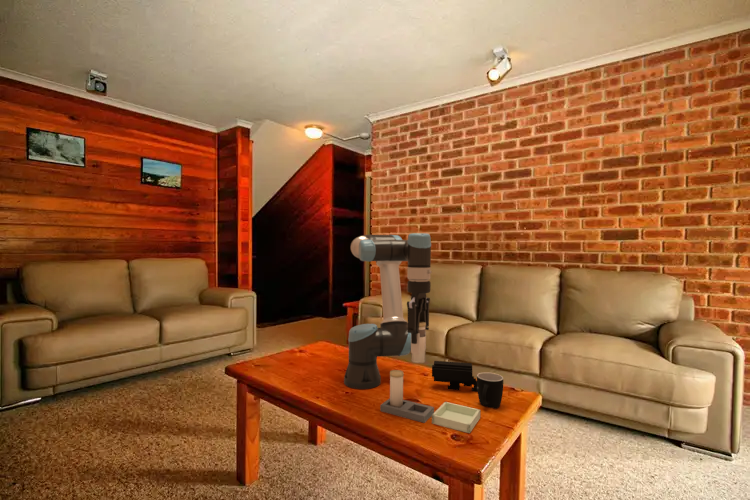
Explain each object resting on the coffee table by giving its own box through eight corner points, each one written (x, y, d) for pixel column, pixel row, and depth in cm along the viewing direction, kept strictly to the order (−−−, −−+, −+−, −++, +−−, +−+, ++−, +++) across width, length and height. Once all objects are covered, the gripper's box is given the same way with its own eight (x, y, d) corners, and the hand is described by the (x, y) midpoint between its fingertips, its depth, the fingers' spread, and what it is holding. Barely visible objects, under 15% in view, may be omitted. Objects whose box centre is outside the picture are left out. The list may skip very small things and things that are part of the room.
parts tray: (431, 424, 113) (431, 415, 113) (444, 410, 124) (445, 401, 124) (469, 435, 107) (469, 424, 107) (480, 419, 118) (480, 409, 118)
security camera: (480, 394, 138) (480, 368, 138) (431, 390, 142) (431, 364, 142) (479, 387, 145) (479, 362, 145) (432, 383, 148) (432, 359, 148)
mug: (480, 397, 135) (481, 370, 135) (506, 403, 130) (506, 375, 130) (470, 409, 124) (470, 380, 124) (497, 416, 120) (497, 385, 120)
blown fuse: (409, 361, 118) (409, 323, 118) (414, 358, 122) (415, 320, 122) (422, 363, 116) (422, 324, 116) (427, 360, 120) (427, 322, 120)
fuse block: (380, 412, 122) (380, 373, 122) (391, 403, 129) (391, 366, 129) (424, 424, 114) (424, 382, 114) (434, 414, 121) (434, 375, 121)
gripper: (418, 282, 110) (418, 360, 110) (439, 279, 125) (438, 346, 125) (396, 281, 114) (396, 356, 114) (419, 278, 129) (418, 343, 129)
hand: (418, 351), depth 119 cm, fingers closed on blown fuse, 4 cm apart
